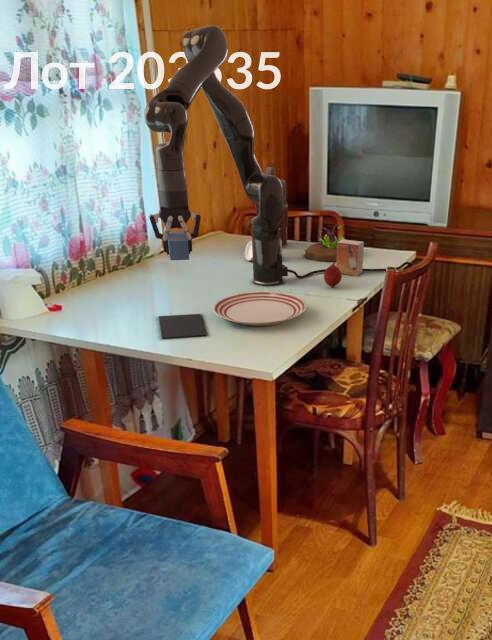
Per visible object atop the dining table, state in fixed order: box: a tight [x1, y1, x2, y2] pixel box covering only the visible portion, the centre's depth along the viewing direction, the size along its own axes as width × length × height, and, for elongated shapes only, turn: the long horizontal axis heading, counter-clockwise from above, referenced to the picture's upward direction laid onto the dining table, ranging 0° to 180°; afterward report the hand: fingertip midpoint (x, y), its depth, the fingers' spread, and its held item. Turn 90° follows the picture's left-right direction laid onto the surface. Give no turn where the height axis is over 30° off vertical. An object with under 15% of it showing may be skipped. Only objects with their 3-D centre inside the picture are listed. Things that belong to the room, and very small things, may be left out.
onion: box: [323, 262, 343, 288], centre depth 241 cm, size 6×6×8 cm
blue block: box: [167, 230, 190, 261], centre depth 202 cm, size 5×5×12 cm
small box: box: [335, 238, 365, 277], centre depth 256 cm, size 8×6×10 cm
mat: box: [158, 313, 207, 340], centre depth 209 cm, size 12×18×1 cm, turn 14°
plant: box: [304, 224, 345, 263], centre depth 275 cm, size 20×20×11 cm
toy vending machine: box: [255, 166, 289, 248], centre depth 281 cm, size 9×11×28 cm
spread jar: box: [244, 236, 283, 262], centre depth 267 cm, size 12×11×12 cm
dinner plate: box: [212, 290, 308, 327], centre depth 217 cm, size 27×27×3 cm
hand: (178, 253), depth 204 cm, fingers closed on blue block, 5 cm apart
